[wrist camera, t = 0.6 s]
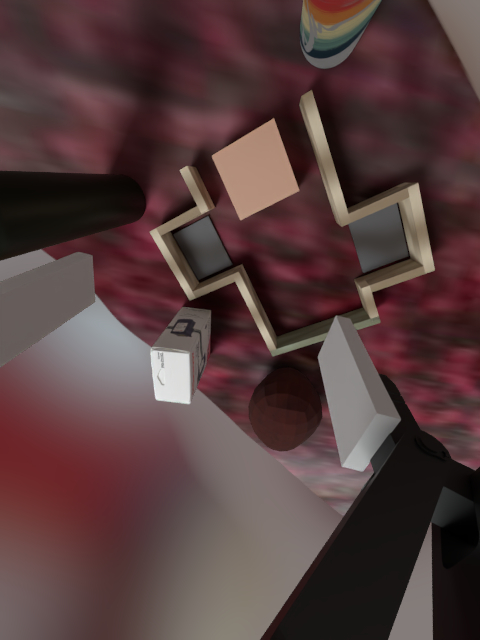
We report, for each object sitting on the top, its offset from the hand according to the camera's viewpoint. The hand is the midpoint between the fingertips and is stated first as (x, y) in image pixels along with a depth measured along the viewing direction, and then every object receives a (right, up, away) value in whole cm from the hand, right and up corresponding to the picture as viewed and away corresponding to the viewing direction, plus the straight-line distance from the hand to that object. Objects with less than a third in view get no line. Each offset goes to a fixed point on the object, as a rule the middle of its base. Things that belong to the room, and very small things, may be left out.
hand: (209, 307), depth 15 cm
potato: (+9, -12, +32) cm, 35 cm away
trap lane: (+8, +9, +21) cm, 24 cm away
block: (+4, +17, +18) cm, 25 cm away
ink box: (-5, -2, +29) cm, 30 cm away
